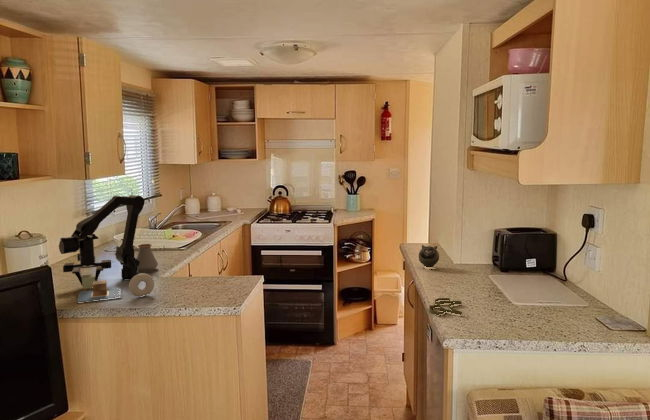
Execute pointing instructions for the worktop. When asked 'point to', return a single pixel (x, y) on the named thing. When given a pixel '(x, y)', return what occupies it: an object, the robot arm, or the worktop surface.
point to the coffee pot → (145, 258)
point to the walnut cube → (99, 288)
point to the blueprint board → (89, 296)
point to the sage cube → (88, 281)
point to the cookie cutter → (444, 308)
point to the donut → (139, 278)
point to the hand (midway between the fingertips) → (89, 284)
